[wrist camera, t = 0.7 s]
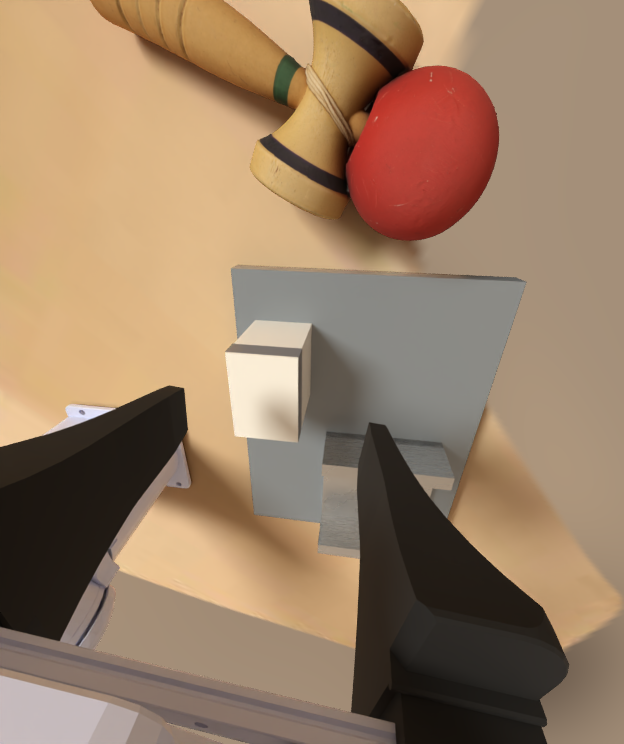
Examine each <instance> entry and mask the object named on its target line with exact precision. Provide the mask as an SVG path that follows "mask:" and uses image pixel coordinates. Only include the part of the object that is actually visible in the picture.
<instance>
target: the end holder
mask: <svg viewBox="0 0 624 744" xmlns="http://www.w3.org/2000/svg"><path fill="white" fill-rule="evenodd" d="M364 439H365V435H360V434H349V433H339V432H329V431H327V432H326V439H325V446H324V454H323V461H322V476H324V479H323V498H322V515H321V523H320V532H319V541H318V553H321V554H329V555H336V556H343V557H350V558H358V559H360V540H359V522H358V503H357V475H358V462H359V458H360V454H361V451H362V447H363V443H364ZM393 440H394V442H395V444H396V445H397V447H398V449H399V451H400V453H401V454H402V456H403V458H404V460H405V461H406V463H407V464H408V466H409V468H410V469H411V471H412V473H413V474H414V476H415V477H416V479H417V480H418V482H419V483H420V484H421V486H422V487H423V489H424V490H425V492H426V493H427V494H428V496H429V497H430V495H431V492H432V488H433V489H442V490H451V489H452V486H453V483H454V480H455V478H454V475H453V472H452V469H451V467H450V464H449V461H448V458H447V456H446V453H445V450H444V448H443V445H442V442H431V441H421V440H411V439H401V438H393Z"/></svg>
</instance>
